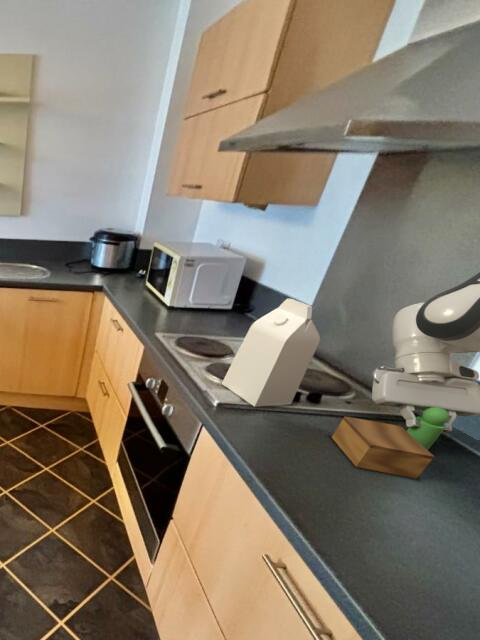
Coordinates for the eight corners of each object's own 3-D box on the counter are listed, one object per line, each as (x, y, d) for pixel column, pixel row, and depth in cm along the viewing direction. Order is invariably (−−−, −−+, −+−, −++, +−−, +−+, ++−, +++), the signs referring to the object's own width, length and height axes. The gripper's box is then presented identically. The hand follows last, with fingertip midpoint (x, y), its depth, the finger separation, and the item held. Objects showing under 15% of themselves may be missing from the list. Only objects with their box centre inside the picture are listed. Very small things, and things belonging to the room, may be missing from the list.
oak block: (385, 447, 95) (400, 426, 92) (416, 478, 86) (434, 456, 83) (331, 437, 97) (344, 416, 94) (355, 466, 88) (371, 444, 85)
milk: (290, 404, 109) (341, 311, 96) (254, 406, 107) (301, 311, 94) (255, 381, 120) (297, 294, 107) (221, 383, 117) (260, 294, 104)
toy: (417, 442, 97) (446, 405, 92) (431, 455, 93) (462, 416, 88) (394, 438, 98) (421, 401, 93) (406, 450, 94) (435, 412, 89)
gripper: (385, 360, 94) (390, 419, 91) (487, 373, 92) (496, 434, 88) (362, 368, 100) (366, 424, 97) (457, 380, 98) (465, 438, 94)
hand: (429, 429), depth 92 cm, fingers closed on toy, 5 cm apart
